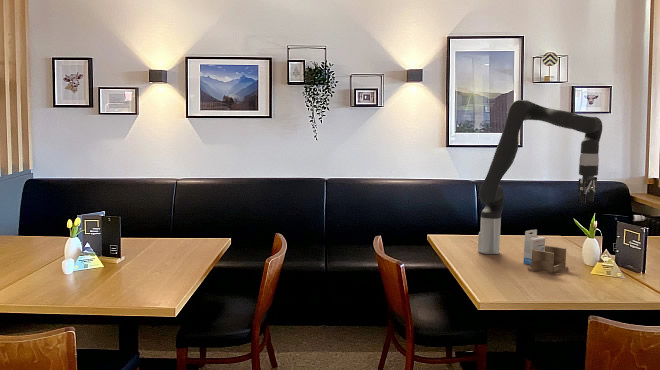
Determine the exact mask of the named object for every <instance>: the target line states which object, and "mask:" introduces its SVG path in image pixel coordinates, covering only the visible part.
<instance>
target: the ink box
mask: <svg viewBox="0 0 660 370" xmlns="http://www.w3.org/2000/svg"><path fill="white" fill-rule="evenodd" d="M537 234H538V230H537V229H530V230H526V231H524V242H523V244H524V246H523V261H522V262H523V264H525V265H530V266H532V250H539V251H545V246H546V237H544V236H537Z"/></svg>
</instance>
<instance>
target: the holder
mask: <svg viewBox="0 0 660 370" xmlns="http://www.w3.org/2000/svg"><path fill="white" fill-rule="evenodd" d="M566 262H567V248H564V247H558V246H552V245H546V244H545V251H539V250H532V265H530V266H531V267H529V268H527V270H528V272H535V273H539V274H544V275H549V276H555V275H558V274H560V273H563V272H565V271H568V270H569V266H567V265H566Z"/></svg>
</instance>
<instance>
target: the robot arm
mask: <svg viewBox="0 0 660 370" xmlns="http://www.w3.org/2000/svg"><path fill="white" fill-rule="evenodd" d="M524 121H539V122H544V123H548V124H550V125H553V126H556V127H559V128H564V129H569V130H573V131H576V132H579V133H583V134H584V138H583V139H582V140H581V143H580V153H579V154H580V156H579V164H578V166H579V167H578V175H579V176H582V177H581V178H578V183H577V184H578V185H577V193H578V194H580V195H579V197H580V198H579V202H580V204H586V203H587V201H588V202H594V200H595V199H594V198H595V193H596V192H597V191H598V177H597V176H598V175H599V164H600V163H599V162H600V158H599V152H600V151H599V149H600V141H601V137H602V132H603V122H602V120H601V119H600V118H599V117H597V116H587V115H581V114H578V113H575V112H571V111H566V110H560V109H556V108H555V109H554V108H550V107H546V106H542V105H539V104H538V103H537V104H536V103H534V102H532V101H530V100H527V99H517V100H515V101H513V102H512V103H511V104H510V107H509V110H508V113H507V117H506V121H505V125H504V128H503V131H502V133H501V136H500V139H499V142H498V143H497V147H496V148H495V151H494V155H493V157H492V160H491V163H490V166H489V169H488V172H487V173H486V176H485V178H484V180H483V183H482V184H481V186H480V188H479V190H478V191H479V192H478V198H479V201H480V202H481V203H483V204H484V208H483V209H482V210H481V212H480V231H479V232H478V236H477V237H478V241H477V242H478V243H477V253H478V252H479V253H481V254H484V255H485V254H486V255H498V254H500V249H501V248H500V247H501V246H500V245H501V244H500V242H501V225H502V224H501V221H502V220H501V219H502V213H503V209H504V199H505V198H504V197H505V195H504V193H505V192H504V190H503V187H502V186H501V185H500V183H501V181H502V179H503V177H504V176H505V174H506V173H507V172H508V170H509V169H510V168H511V166H512V165H513V164H514V162H515V161H514V160H515V158H516V155H517V153H518V150H519V133H520V130H521V128H522V125H523V123H524Z"/></svg>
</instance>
